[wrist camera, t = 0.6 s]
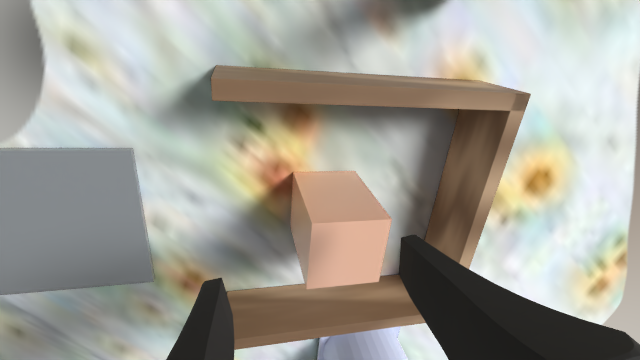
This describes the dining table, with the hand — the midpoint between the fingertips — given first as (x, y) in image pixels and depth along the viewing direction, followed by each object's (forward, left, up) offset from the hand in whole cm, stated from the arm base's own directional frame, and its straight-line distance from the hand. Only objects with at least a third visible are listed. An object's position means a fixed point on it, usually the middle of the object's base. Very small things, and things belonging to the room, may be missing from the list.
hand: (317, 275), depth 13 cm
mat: (-4, +14, -11) cm, 18 cm away
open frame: (-3, -5, -11) cm, 12 cm away
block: (-3, -3, -11) cm, 11 cm away
